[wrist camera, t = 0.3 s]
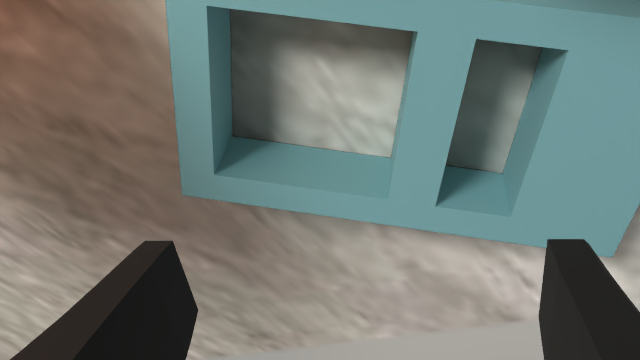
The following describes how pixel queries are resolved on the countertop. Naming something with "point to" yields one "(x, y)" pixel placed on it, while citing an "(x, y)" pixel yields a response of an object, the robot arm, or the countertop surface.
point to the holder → (436, 122)
